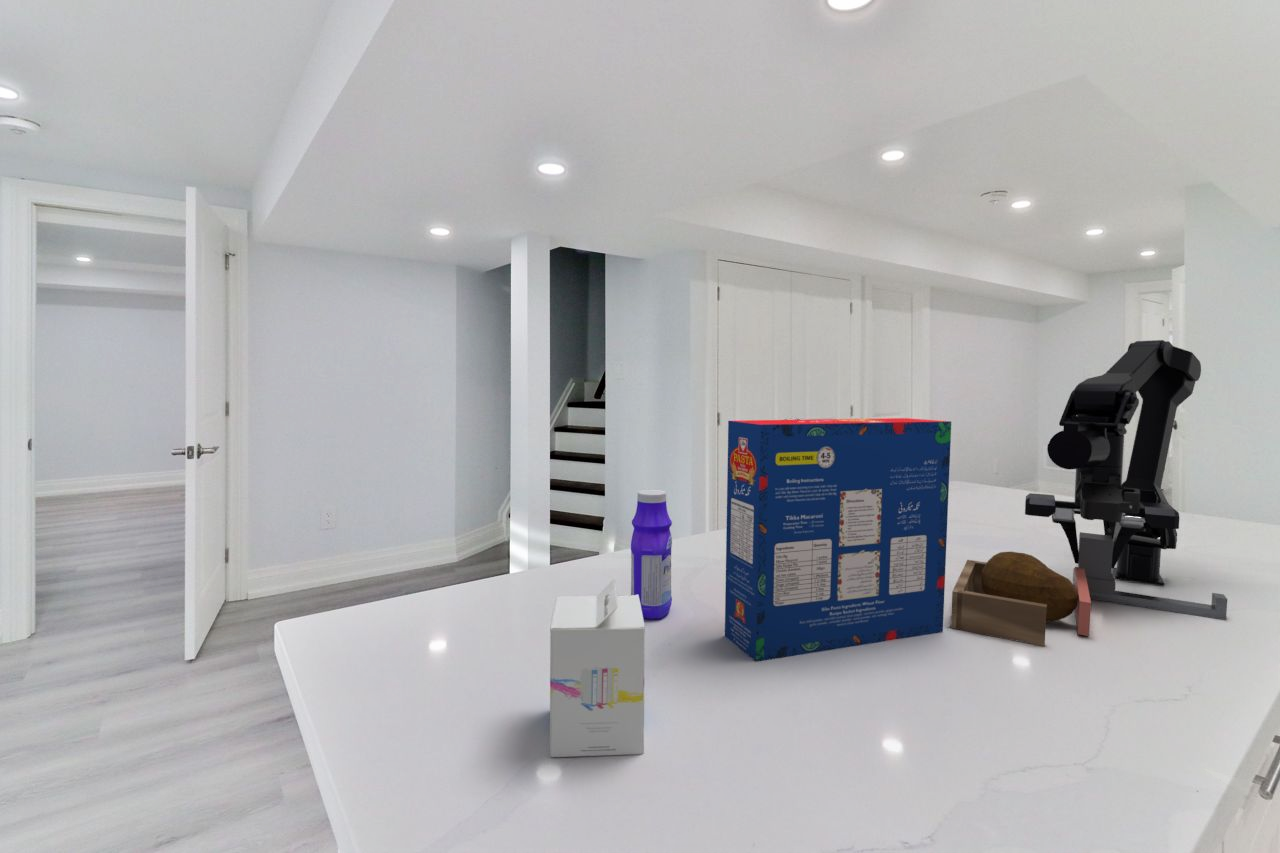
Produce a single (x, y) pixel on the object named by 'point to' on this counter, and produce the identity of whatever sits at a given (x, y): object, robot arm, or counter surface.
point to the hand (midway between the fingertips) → (1094, 565)
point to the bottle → (651, 554)
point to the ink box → (597, 675)
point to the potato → (1029, 583)
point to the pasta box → (834, 533)
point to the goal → (994, 610)
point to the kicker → (1092, 575)
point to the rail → (1169, 603)
